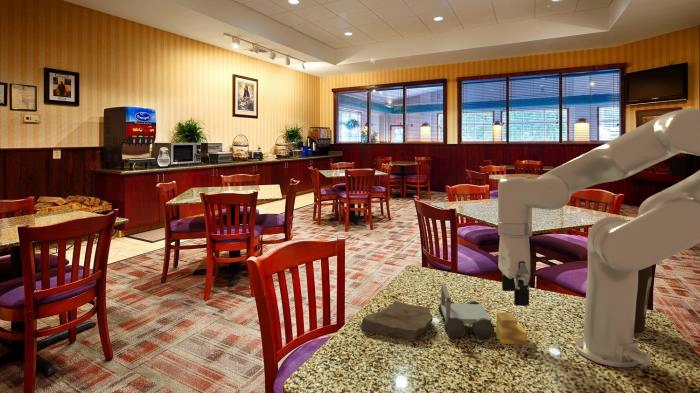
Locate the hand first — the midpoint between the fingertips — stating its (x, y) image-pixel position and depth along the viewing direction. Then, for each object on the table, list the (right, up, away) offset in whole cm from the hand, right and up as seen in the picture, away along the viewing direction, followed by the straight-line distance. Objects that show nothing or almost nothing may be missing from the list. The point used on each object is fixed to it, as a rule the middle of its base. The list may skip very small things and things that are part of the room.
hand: (514, 297), depth 98 cm
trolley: (-10, -10, +8) cm, 16 cm away
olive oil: (+32, -10, +8) cm, 35 cm away
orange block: (0, -11, +2) cm, 11 cm away
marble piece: (-27, -11, +10) cm, 31 cm away
